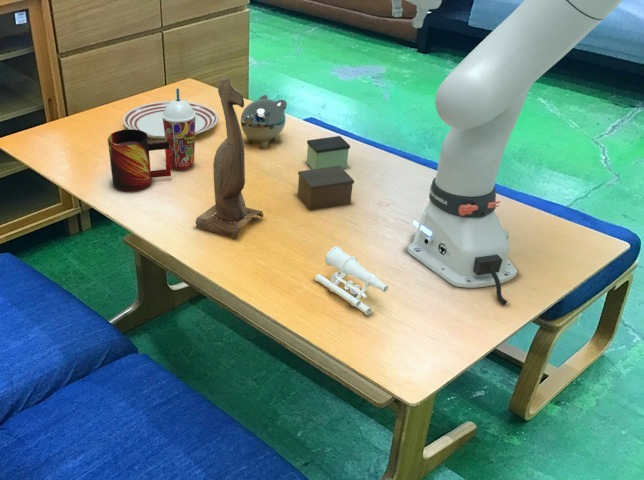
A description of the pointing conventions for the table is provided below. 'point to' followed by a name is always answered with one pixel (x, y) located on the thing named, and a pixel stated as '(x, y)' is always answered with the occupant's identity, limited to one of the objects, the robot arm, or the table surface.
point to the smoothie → (180, 133)
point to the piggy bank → (263, 120)
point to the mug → (134, 160)
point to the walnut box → (325, 187)
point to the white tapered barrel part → (352, 268)
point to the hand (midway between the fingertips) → (406, 21)
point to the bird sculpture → (228, 173)
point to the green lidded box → (327, 152)
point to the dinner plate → (152, 121)
